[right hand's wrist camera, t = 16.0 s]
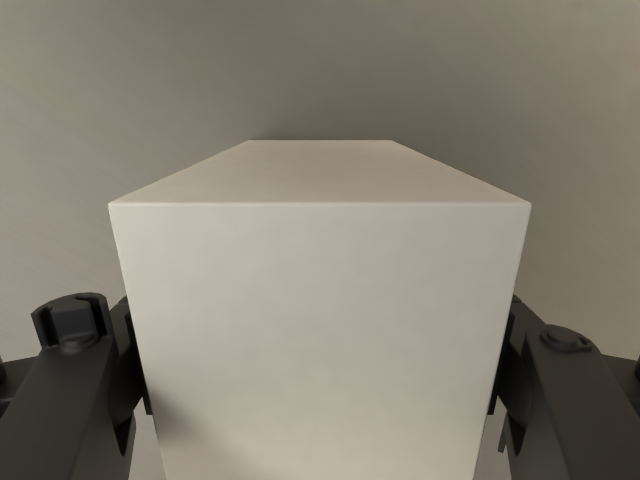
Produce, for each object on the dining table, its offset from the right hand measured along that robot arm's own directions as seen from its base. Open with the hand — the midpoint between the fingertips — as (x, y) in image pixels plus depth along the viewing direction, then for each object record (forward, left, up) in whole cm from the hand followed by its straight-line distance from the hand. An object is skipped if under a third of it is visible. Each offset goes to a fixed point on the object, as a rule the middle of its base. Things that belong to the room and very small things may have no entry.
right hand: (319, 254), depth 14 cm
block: (0, 0, -4) cm, 4 cm away
